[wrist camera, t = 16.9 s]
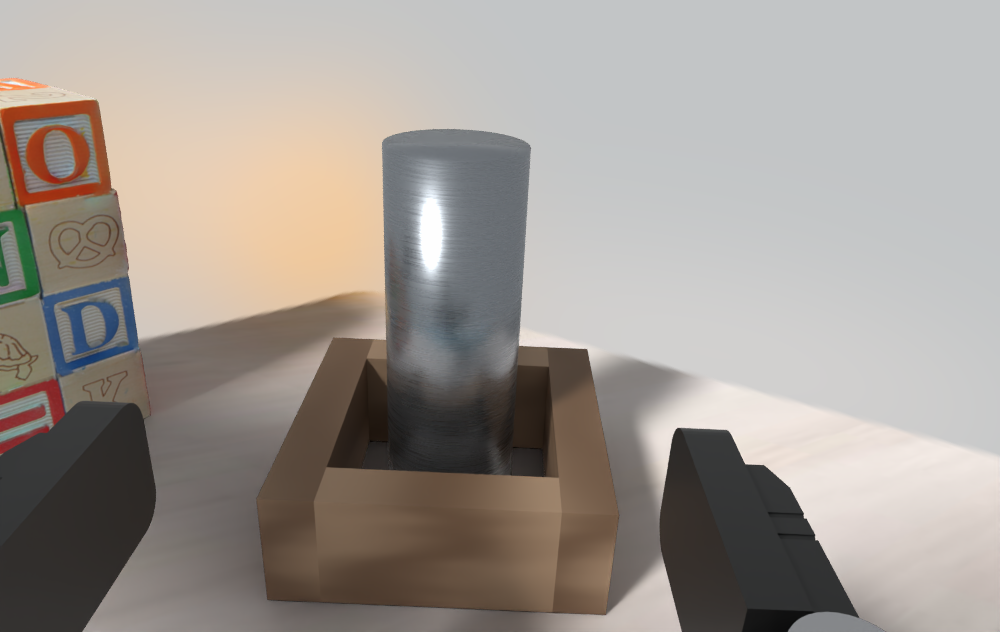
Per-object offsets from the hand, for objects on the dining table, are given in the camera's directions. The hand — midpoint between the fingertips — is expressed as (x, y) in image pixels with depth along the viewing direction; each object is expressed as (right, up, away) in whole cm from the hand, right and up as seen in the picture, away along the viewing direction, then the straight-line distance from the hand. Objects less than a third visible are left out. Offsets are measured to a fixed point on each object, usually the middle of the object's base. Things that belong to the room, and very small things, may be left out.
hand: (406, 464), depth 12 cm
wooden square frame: (0, -4, +14) cm, 15 cm away
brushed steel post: (0, -4, +14) cm, 15 cm away
